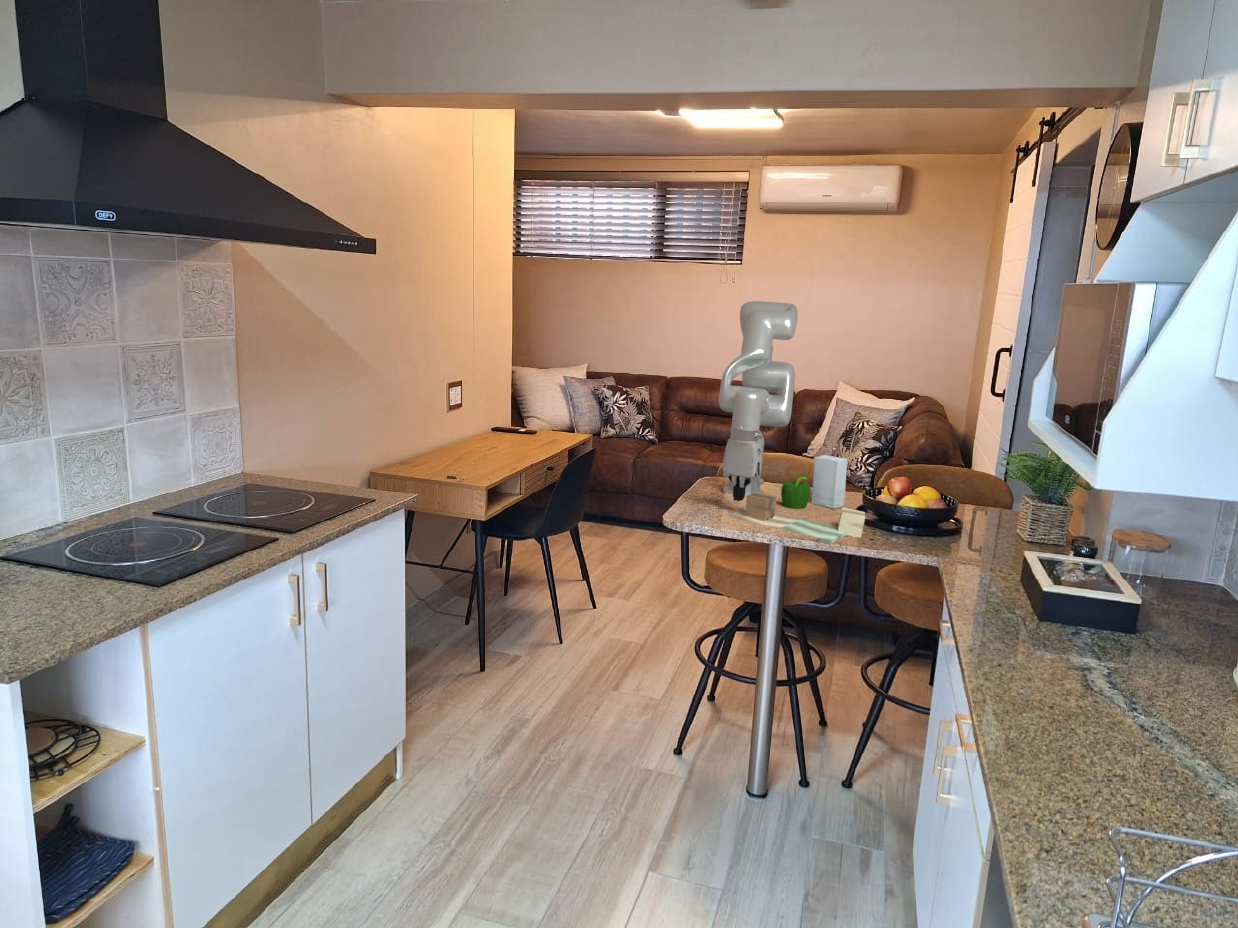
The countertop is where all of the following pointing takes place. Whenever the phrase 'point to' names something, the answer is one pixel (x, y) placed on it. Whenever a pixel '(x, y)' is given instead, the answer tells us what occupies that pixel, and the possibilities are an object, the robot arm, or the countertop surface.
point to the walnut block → (760, 506)
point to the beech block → (851, 522)
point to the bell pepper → (795, 494)
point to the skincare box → (829, 481)
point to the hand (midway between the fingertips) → (738, 499)
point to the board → (797, 526)
